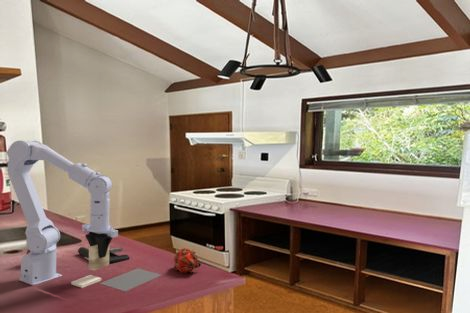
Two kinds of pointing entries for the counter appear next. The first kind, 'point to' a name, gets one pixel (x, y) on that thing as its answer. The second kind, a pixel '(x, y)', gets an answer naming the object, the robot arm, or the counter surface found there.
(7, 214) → the counter surface
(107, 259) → the light wooden block
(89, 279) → the tile
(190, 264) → the dragon fruit
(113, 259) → the door handle
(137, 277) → the mat
